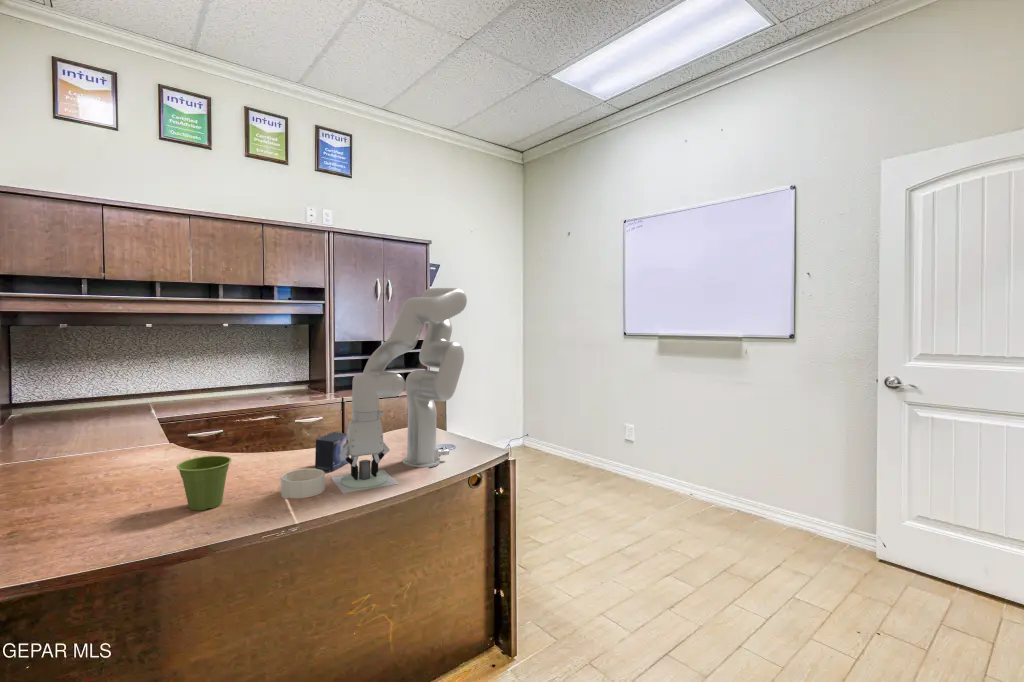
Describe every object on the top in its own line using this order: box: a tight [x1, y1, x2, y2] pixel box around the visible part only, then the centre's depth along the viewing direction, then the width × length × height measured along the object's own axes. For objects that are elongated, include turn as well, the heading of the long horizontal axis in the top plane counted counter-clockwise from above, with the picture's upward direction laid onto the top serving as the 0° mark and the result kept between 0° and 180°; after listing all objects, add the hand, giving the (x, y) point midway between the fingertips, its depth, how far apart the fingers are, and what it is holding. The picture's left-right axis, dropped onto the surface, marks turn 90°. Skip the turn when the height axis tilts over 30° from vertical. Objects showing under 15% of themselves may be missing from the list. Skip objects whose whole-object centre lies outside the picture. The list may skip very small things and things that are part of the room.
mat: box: [330, 469, 399, 494], centre depth 144 cm, size 16×14×1 cm
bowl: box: [280, 467, 326, 500], centre depth 135 cm, size 11×11×5 cm
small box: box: [314, 431, 350, 473], centre depth 157 cm, size 11×6×10 cm, turn 168°
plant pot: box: [176, 455, 233, 512], centre depth 124 cm, size 12×12×11 cm
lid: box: [341, 459, 387, 489], centre depth 144 cm, size 13×13×6 cm
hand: (364, 476), depth 144 cm, fingers open, 4 cm apart
